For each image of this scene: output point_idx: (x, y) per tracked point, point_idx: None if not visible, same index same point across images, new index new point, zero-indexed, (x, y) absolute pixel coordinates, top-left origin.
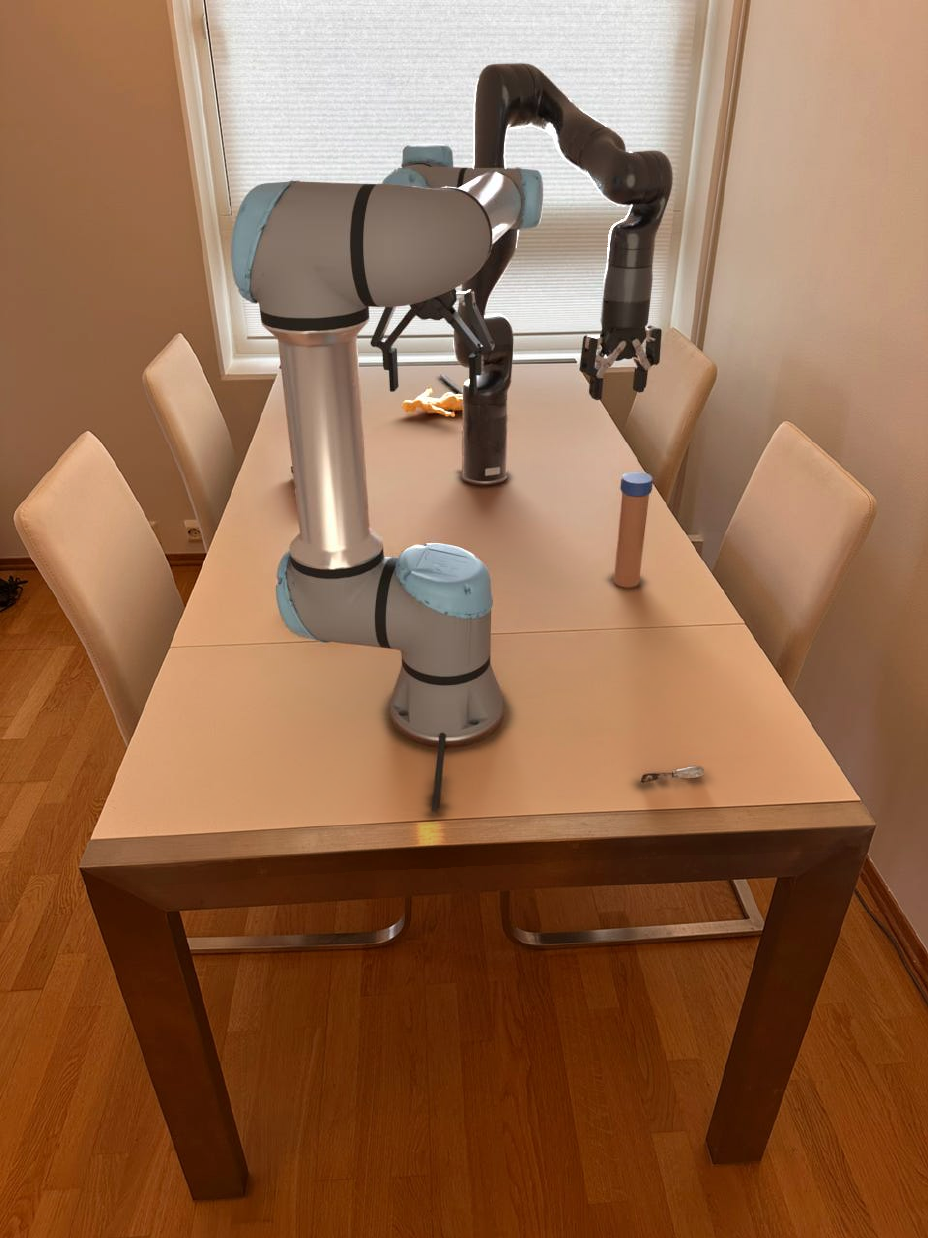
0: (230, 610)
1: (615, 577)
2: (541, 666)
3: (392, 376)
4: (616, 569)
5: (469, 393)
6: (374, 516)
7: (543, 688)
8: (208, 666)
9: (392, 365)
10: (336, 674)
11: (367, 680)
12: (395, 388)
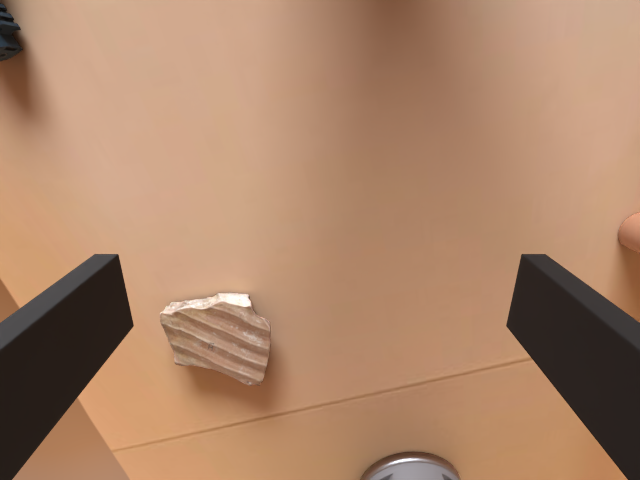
0: (116, 388)
1: (626, 242)
2: (497, 419)
3: (86, 378)
4: (637, 249)
5: (514, 335)
6: (168, 71)
7: (498, 447)
8: (161, 470)
9: (46, 434)
10: (290, 461)
11: (323, 463)
12: (125, 308)
